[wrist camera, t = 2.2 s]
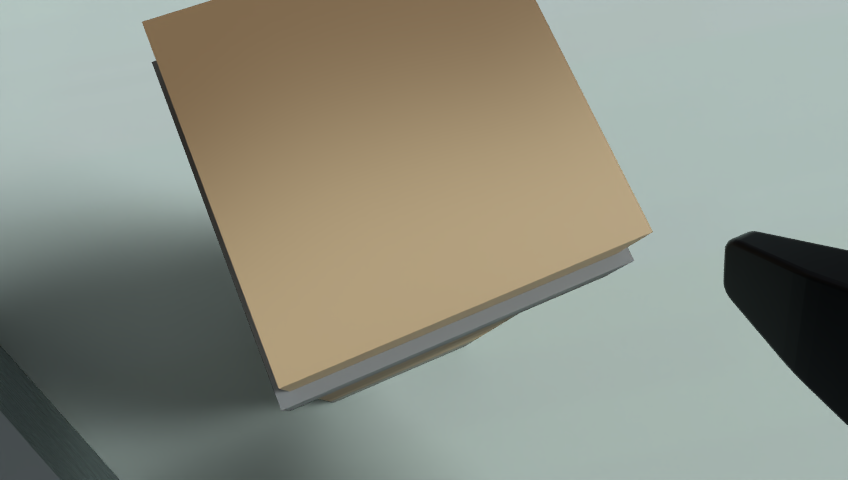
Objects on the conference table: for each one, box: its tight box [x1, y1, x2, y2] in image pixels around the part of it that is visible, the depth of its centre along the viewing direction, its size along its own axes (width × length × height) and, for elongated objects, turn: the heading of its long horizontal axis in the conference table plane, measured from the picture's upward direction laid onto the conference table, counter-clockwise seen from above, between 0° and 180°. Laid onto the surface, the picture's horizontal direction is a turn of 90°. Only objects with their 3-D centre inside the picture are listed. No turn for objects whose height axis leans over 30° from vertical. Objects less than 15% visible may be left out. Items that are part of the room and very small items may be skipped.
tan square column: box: [142, 0, 653, 411], centre depth 13 cm, size 4×4×13 cm
